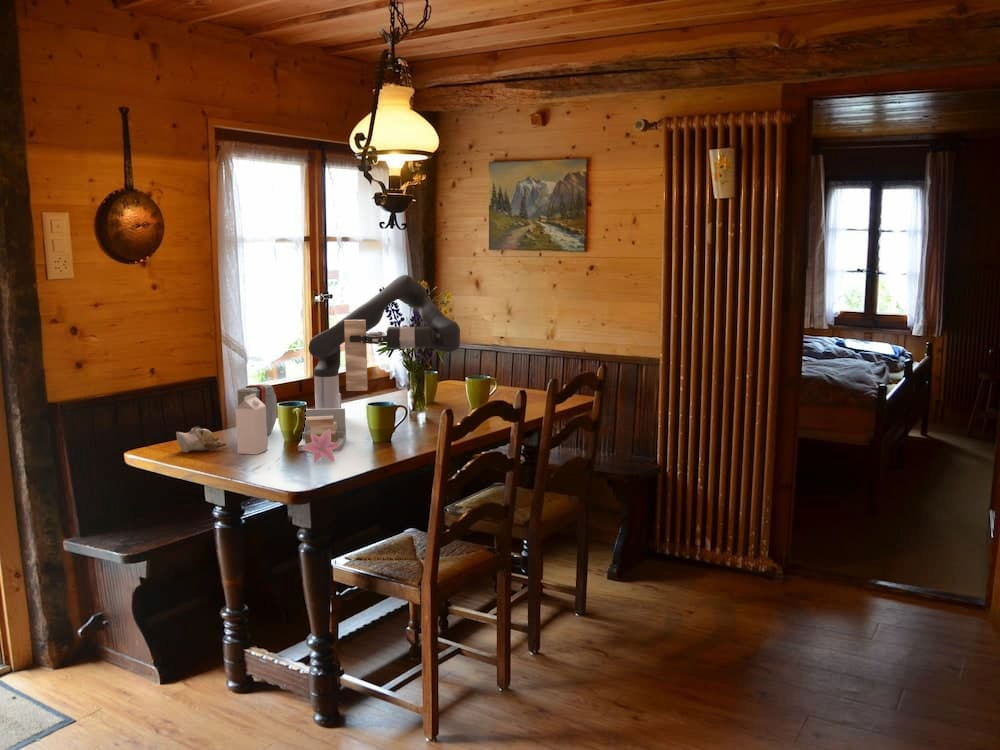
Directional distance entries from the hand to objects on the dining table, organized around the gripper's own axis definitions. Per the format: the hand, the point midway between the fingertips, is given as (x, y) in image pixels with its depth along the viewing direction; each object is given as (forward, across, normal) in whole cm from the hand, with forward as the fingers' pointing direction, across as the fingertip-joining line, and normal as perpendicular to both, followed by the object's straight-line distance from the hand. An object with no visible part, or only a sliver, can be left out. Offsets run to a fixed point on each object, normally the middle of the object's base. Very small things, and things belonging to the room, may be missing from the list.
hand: (350, 338), depth 296 cm
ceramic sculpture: (+50, +7, +36) cm, 62 cm away
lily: (+8, +24, +36) cm, 44 cm away
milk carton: (+32, +12, +36) cm, 50 cm away
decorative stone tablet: (+34, -10, +36) cm, 50 cm away
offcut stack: (+10, +6, +34) cm, 36 cm away
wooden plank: (-2, 0, +18) cm, 18 cm away
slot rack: (+10, +3, +36) cm, 37 cm away
